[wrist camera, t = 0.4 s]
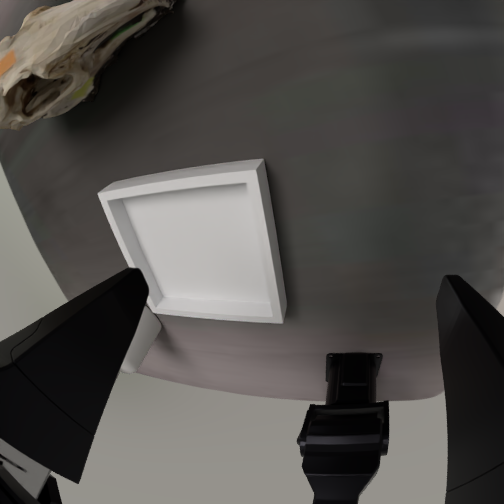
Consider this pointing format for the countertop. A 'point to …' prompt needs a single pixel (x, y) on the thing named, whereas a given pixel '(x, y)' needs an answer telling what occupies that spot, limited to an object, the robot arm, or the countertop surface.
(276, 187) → the countertop surface
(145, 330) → the eye dropper bottle
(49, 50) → the animal skull replica
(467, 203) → the countertop surface
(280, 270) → the tray
